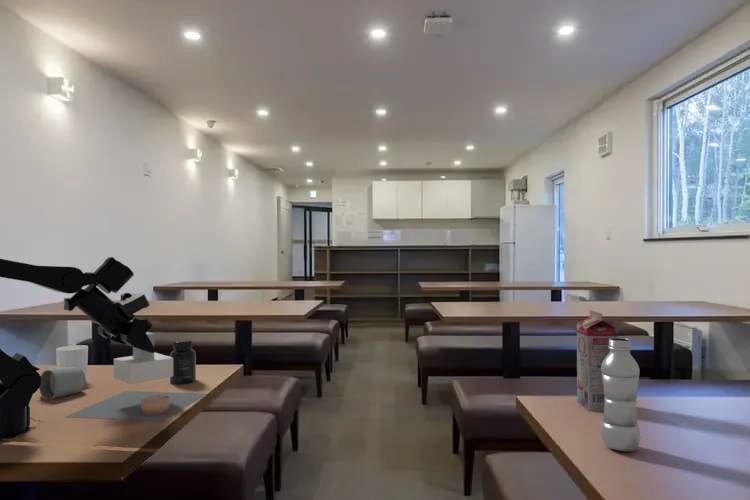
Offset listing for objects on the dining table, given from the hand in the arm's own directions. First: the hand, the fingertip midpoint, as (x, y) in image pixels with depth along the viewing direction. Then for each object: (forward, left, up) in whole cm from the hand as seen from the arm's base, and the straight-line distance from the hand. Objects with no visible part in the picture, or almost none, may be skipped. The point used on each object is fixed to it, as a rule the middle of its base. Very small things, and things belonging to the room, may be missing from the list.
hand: (149, 349), depth 123 cm
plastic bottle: (-16, -103, -13) cm, 105 cm away
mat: (-3, 0, -13) cm, 13 cm away
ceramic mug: (+3, +27, -13) cm, 31 cm away
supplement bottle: (+18, +2, -13) cm, 23 cm away
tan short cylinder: (-8, -6, -12) cm, 16 cm away
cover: (-1, +1, -6) cm, 6 cm away
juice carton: (+10, -106, -13) cm, 108 cm away
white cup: (+15, +34, -13) cm, 39 cm away
